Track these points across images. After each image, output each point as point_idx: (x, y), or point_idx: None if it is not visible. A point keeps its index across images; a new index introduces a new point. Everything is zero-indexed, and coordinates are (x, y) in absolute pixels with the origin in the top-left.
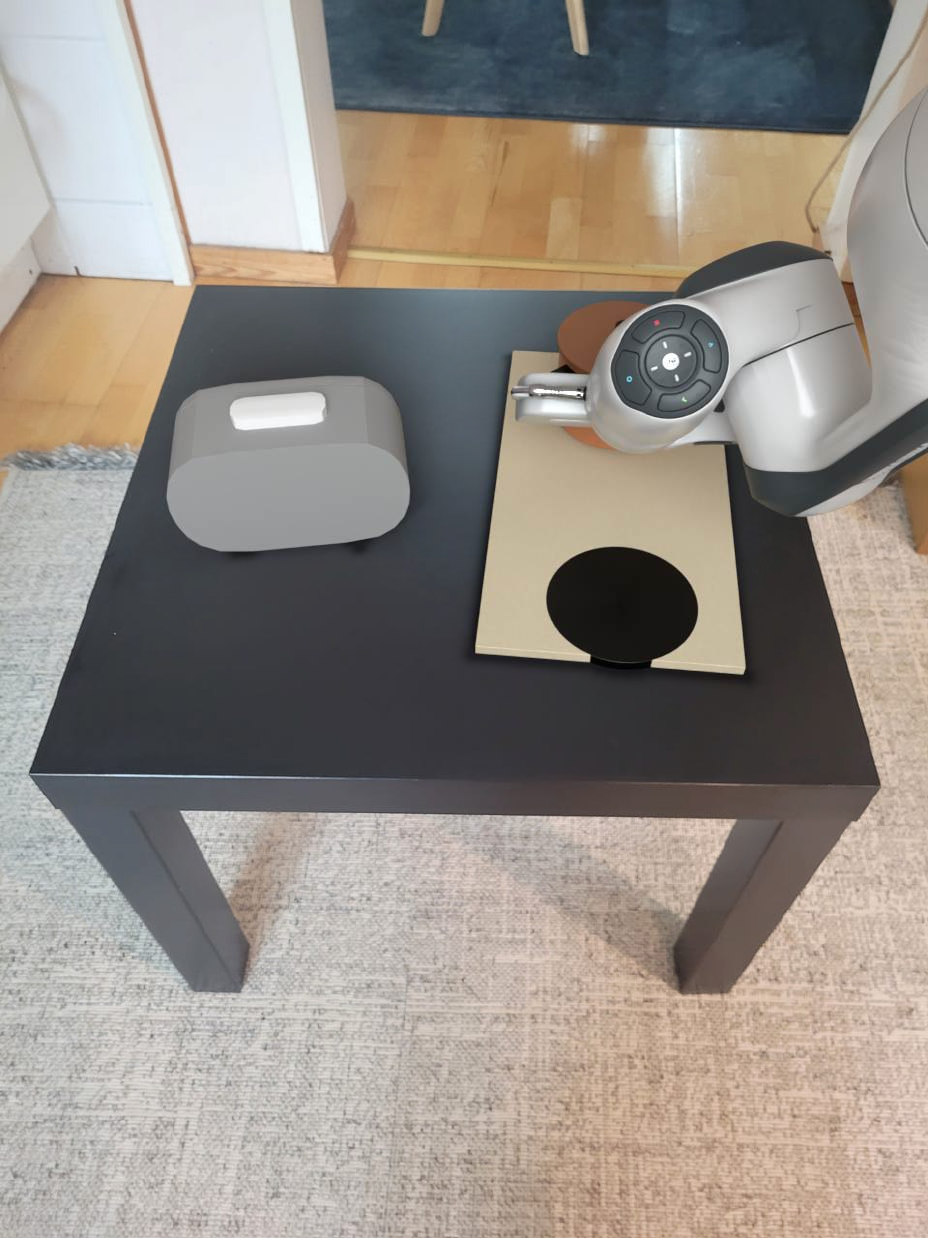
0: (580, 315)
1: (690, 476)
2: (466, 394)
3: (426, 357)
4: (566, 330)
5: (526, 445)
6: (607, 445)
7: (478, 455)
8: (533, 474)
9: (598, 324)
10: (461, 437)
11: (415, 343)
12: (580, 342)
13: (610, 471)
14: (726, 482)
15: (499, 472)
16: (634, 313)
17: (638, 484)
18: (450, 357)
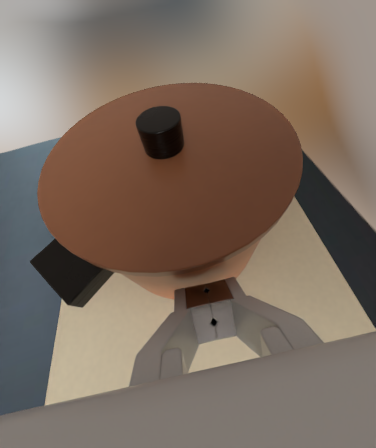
0: (87, 124)
1: (310, 314)
2: (39, 238)
3: (10, 203)
4: (59, 158)
5: (90, 314)
6: None
7: (38, 337)
8: (98, 380)
9: (116, 132)
10: (23, 308)
11: (4, 190)
12: (81, 177)
13: None
14: (363, 312)
15: (49, 389)
16: (172, 99)
17: (248, 356)
18: (31, 197)
